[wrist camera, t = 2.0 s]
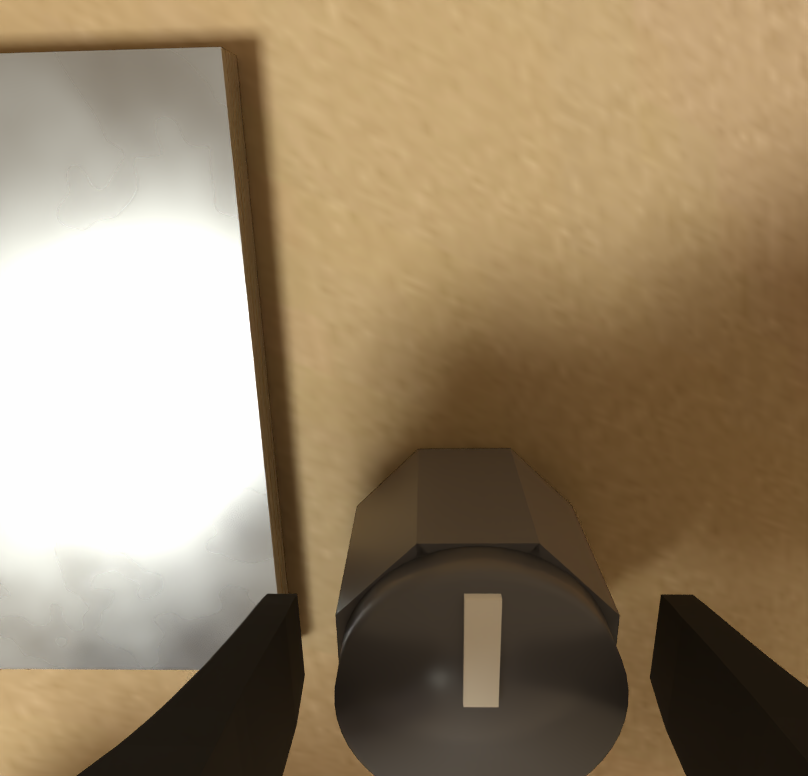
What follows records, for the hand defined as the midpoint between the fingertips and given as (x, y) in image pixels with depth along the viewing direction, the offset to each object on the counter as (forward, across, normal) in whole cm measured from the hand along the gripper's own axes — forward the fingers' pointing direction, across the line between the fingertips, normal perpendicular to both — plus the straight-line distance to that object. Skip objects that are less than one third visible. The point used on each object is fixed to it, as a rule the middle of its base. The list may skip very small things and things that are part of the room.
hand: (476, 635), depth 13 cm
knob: (+3, 0, 0) cm, 3 cm away
